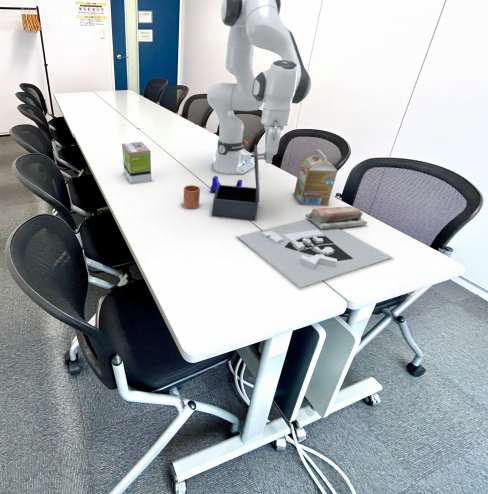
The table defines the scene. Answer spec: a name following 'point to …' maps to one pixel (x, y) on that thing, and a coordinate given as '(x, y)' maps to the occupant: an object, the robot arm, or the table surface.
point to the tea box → (137, 162)
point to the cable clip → (216, 182)
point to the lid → (258, 169)
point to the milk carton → (315, 180)
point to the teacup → (191, 197)
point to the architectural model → (312, 251)
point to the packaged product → (336, 217)
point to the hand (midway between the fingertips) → (268, 159)
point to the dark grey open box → (235, 202)
